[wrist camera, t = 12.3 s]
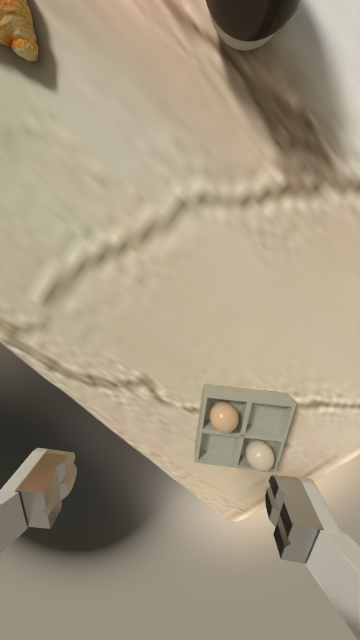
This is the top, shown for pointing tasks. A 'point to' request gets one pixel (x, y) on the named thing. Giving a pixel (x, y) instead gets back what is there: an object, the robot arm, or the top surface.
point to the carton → (243, 425)
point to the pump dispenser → (250, 20)
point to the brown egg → (224, 417)
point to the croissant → (18, 29)
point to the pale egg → (260, 455)
